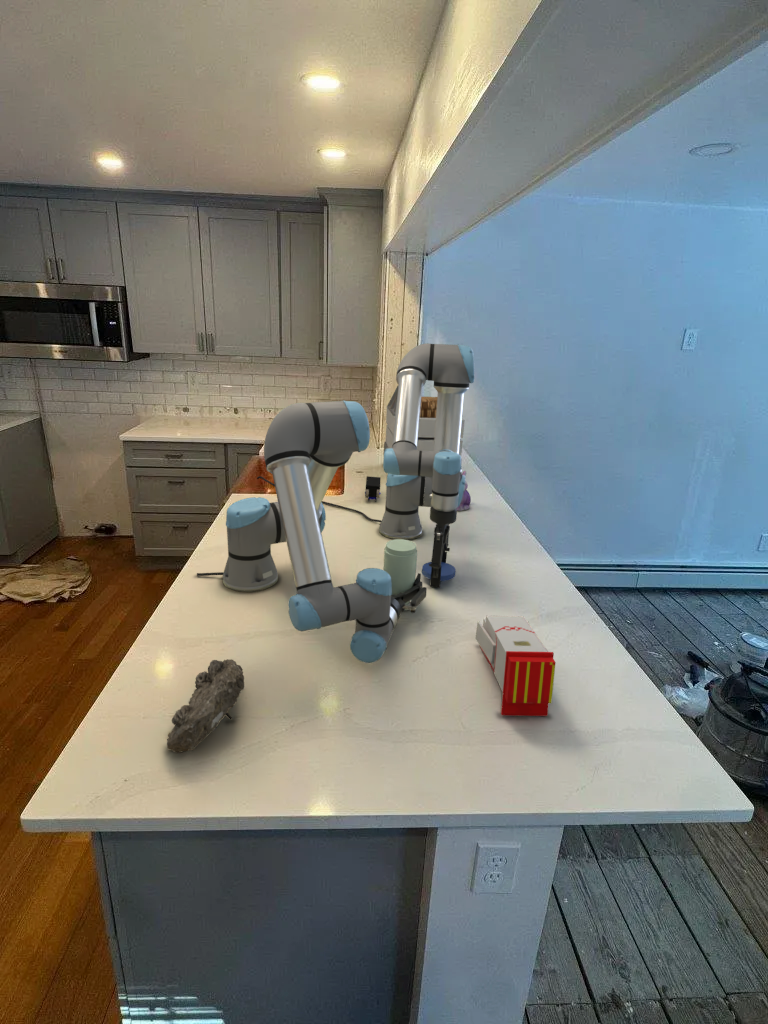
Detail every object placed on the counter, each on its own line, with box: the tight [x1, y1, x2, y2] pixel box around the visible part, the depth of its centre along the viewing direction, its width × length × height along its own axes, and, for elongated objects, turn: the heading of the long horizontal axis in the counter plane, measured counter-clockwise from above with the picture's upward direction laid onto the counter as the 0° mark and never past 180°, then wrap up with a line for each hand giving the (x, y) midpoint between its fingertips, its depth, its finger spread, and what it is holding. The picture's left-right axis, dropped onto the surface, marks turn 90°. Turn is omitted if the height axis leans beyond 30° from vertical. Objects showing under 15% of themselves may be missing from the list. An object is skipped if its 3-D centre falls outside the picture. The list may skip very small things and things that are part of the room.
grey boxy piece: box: [383, 384, 465, 463], centre depth 268 cm, size 34×33×41 cm
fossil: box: [166, 658, 245, 754], centre depth 106 cm, size 22×10×15 cm
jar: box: [382, 539, 418, 612], centre depth 150 cm, size 9×9×17 cm
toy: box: [475, 615, 557, 717], centre depth 123 cm, size 12×13×30 cm
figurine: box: [456, 470, 472, 512], centre depth 227 cm, size 9×10×15 cm
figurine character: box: [364, 475, 381, 503], centre depth 235 cm, size 7×8×15 cm
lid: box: [421, 561, 457, 582], centre depth 166 cm, size 10×10×2 cm
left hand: (402, 575), depth 155 cm, fingers closed on jar, 9 cm apart
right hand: (437, 578), depth 167 cm, fingers closed on lid, 10 cm apart
